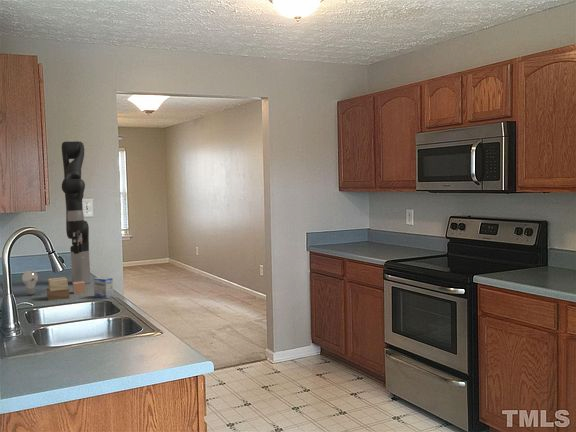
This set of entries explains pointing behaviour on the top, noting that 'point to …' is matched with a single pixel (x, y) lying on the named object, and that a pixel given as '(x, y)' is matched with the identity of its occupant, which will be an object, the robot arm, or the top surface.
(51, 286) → the tower top
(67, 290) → the tower bottom
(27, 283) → the light bulb
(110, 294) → the medicine box
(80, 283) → the cube
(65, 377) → the top surface
